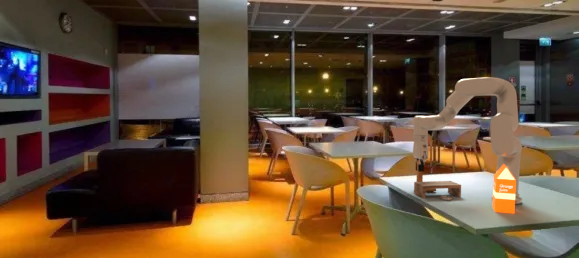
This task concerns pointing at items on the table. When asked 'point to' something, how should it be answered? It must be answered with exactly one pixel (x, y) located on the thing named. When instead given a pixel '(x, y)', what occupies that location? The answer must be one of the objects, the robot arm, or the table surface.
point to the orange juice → (504, 191)
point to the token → (446, 198)
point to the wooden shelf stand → (437, 187)
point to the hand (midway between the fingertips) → (419, 170)
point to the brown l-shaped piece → (421, 177)
